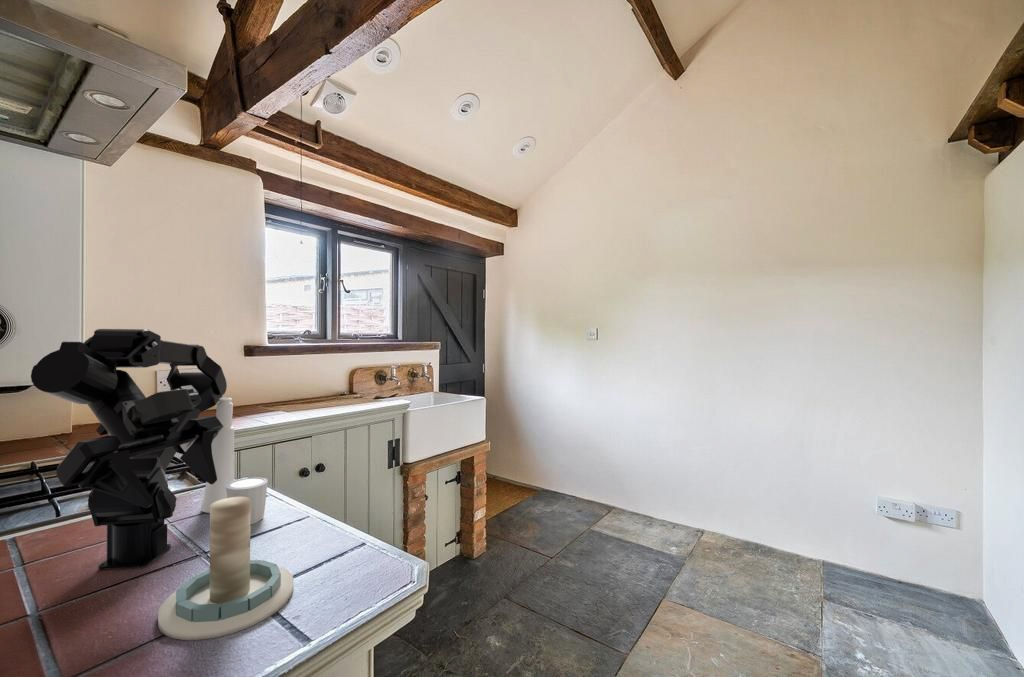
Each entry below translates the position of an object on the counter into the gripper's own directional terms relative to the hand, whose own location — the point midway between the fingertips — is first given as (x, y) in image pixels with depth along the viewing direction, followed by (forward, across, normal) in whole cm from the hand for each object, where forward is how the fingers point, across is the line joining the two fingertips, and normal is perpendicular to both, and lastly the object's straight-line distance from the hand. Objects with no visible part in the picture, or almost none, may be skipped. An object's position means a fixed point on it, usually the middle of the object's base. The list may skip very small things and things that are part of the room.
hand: (184, 493), depth 61 cm
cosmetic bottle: (-5, +25, +24) cm, 35 cm away
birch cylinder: (+14, 0, +4) cm, 15 cm away
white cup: (+2, +22, +18) cm, 28 cm away
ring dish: (+15, 0, +4) cm, 16 cm away
